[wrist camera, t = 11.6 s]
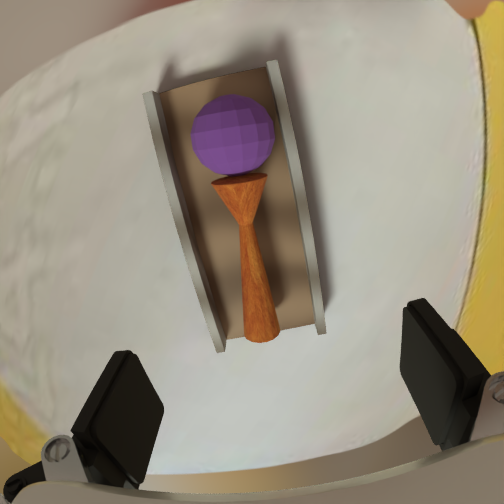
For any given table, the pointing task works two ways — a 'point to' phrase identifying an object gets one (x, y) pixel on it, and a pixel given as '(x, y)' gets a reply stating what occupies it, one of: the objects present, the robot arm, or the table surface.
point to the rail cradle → (220, 218)
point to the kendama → (241, 192)
